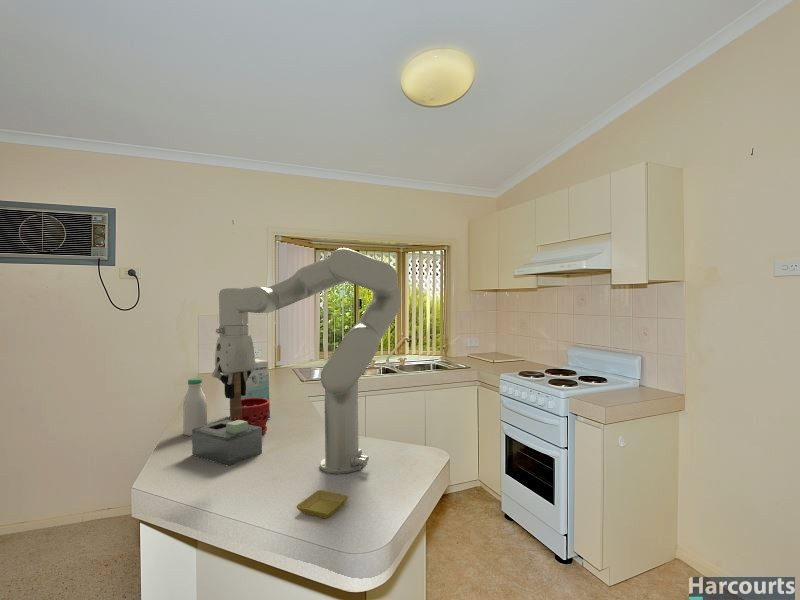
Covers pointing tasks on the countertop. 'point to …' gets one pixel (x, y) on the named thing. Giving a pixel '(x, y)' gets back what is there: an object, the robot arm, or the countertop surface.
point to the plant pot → (255, 412)
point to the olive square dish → (322, 503)
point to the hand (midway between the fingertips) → (235, 396)
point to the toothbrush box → (258, 382)
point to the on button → (236, 426)
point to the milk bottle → (194, 407)
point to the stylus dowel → (236, 396)
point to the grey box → (226, 443)
